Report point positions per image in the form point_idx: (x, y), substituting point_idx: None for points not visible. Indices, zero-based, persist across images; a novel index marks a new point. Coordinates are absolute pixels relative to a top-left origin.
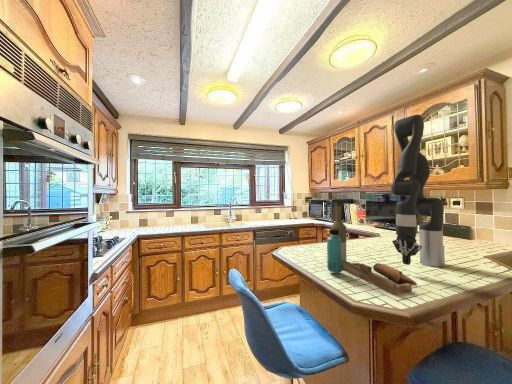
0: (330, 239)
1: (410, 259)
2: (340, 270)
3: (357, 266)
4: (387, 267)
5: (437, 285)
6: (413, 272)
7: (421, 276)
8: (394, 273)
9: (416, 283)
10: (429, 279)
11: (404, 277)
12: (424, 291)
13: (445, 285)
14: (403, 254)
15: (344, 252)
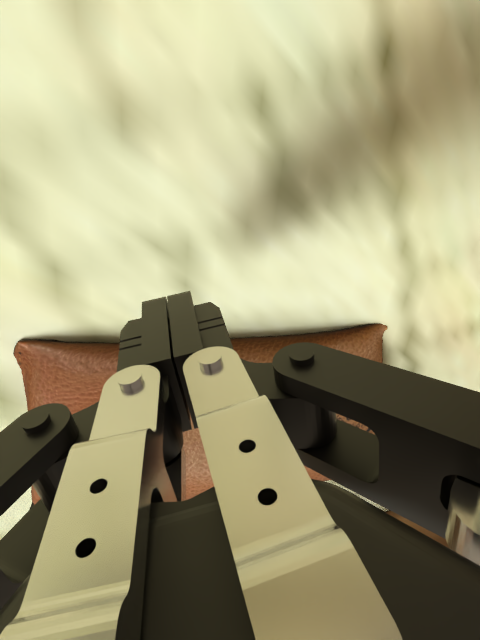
0: None
1: (226, 332)
2: None
3: None
4: (193, 488)
5: (447, 184)
6: (91, 136)
7: (232, 147)
8: (320, 480)
9: (379, 331)
10: (322, 131)
11: (366, 427)
12: (476, 355)
13: (473, 105)
14: (182, 451)
15: None
